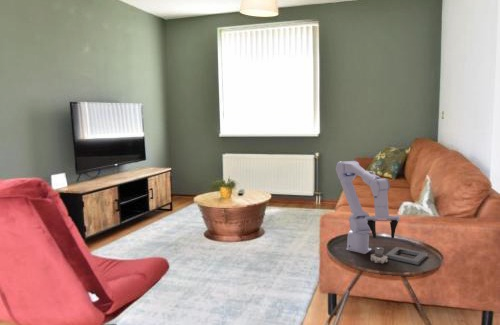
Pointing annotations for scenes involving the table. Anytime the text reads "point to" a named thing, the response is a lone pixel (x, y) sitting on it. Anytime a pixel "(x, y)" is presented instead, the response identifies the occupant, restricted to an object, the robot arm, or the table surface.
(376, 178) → the robot arm
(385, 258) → the planet gear
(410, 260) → the carrier plate
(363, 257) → the table surface
